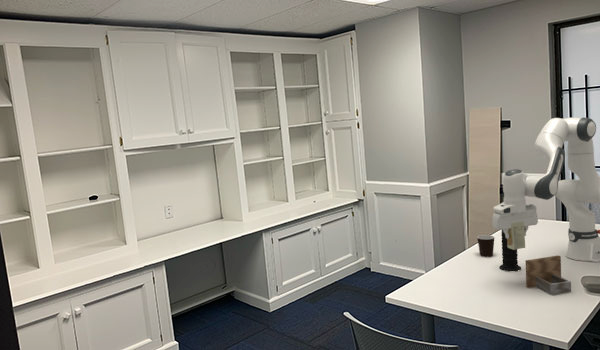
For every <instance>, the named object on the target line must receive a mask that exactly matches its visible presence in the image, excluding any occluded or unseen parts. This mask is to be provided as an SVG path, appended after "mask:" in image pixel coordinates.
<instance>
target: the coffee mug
mask: <svg viewBox="0 0 600 350" xmlns="http://www.w3.org/2000/svg"><path fill="white" fill-rule="evenodd" d="M476 239H477V244H478V245H477V246H478V251H479V256H480V257H483V258H491V257H492V258H493V256H494V247H495V239H496V238H495V236H494V235H490V234H481V235H477V237H476Z"/></svg>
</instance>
